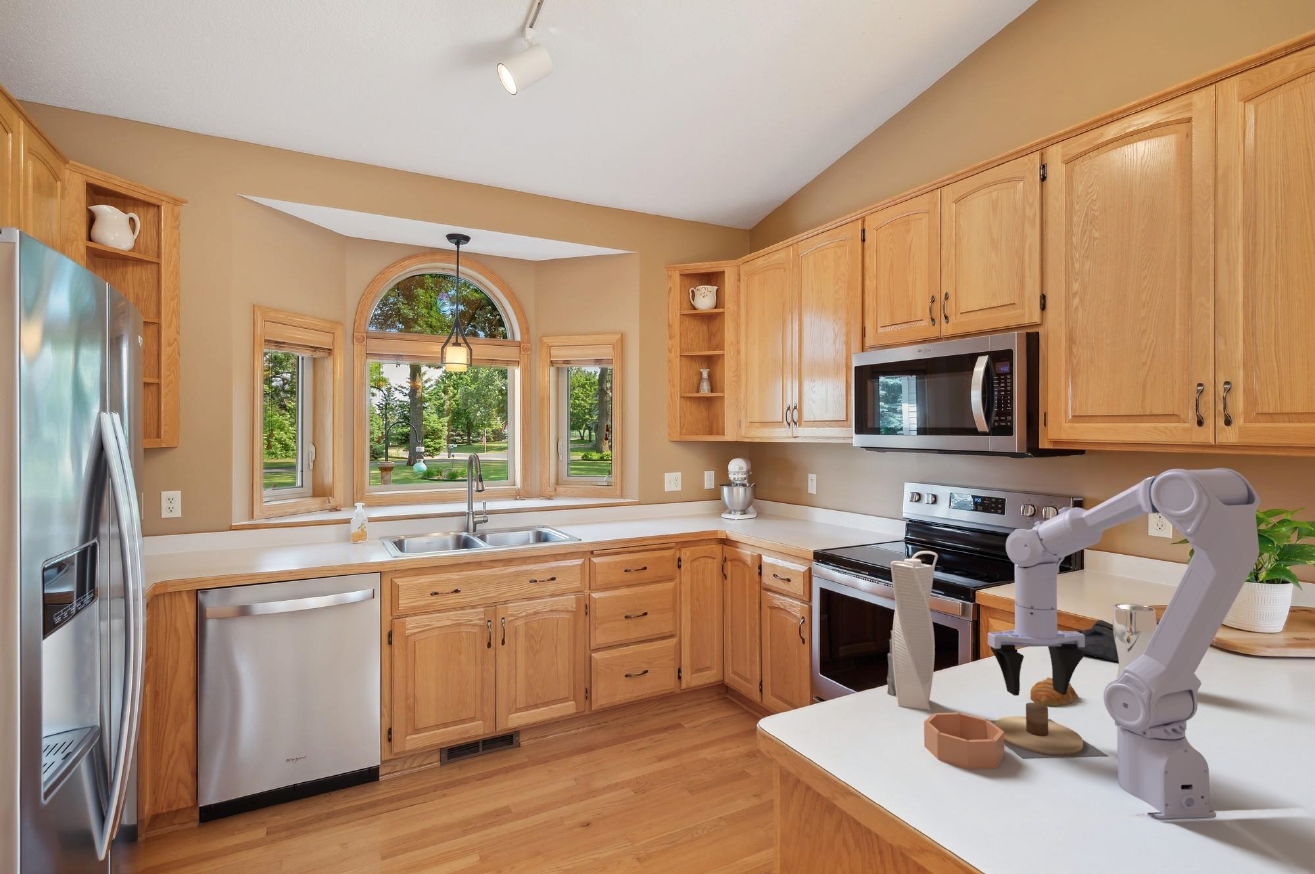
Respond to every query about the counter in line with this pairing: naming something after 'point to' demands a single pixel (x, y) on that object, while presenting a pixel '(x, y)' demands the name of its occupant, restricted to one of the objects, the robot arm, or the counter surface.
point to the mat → (1085, 752)
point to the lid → (1039, 733)
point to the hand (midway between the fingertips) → (1036, 692)
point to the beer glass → (1132, 631)
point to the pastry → (1051, 694)
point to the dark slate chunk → (1100, 641)
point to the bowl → (964, 740)
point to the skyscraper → (912, 633)
